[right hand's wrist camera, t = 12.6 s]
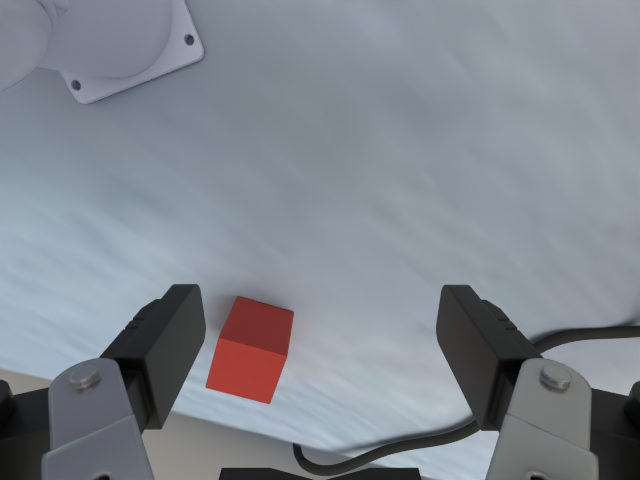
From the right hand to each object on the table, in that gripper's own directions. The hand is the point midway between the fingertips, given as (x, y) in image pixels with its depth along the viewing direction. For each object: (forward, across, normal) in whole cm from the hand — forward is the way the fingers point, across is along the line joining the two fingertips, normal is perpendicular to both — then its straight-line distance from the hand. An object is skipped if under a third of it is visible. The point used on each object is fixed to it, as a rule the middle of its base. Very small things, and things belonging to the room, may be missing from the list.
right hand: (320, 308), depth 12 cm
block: (+12, +4, +9) cm, 15 cm away
